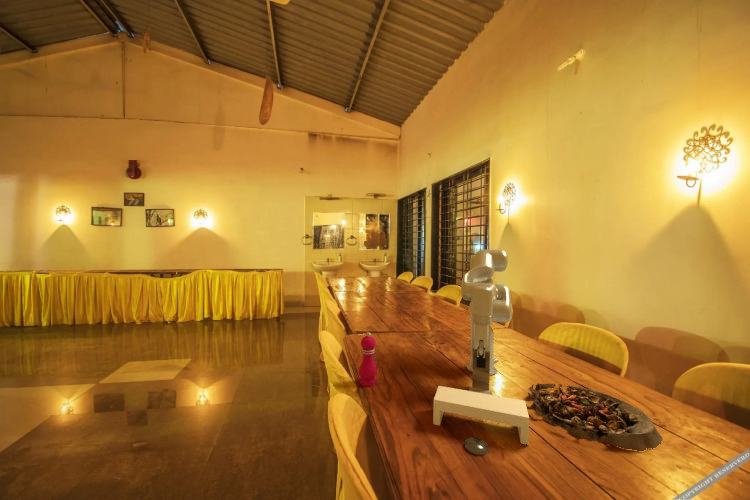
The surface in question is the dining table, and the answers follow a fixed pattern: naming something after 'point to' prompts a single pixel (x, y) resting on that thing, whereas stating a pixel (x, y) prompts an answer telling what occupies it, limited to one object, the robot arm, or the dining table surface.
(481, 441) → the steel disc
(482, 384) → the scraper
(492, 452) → the dining table surface
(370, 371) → the pepper mill
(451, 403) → the cream footstool
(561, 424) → the food dish
